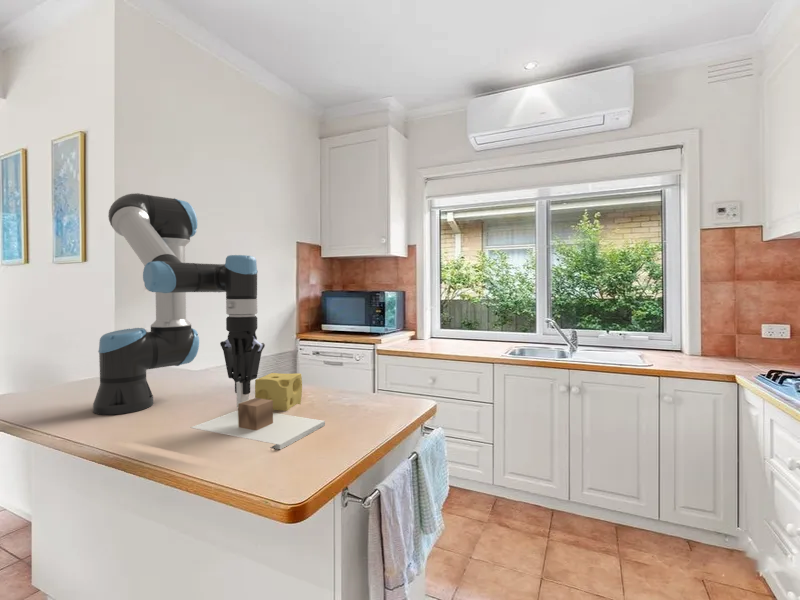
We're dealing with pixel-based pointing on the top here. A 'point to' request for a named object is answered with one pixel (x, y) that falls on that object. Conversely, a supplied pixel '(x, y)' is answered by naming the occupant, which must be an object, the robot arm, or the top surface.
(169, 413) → the top surface
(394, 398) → the top surface
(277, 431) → the cutting board
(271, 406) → the walnut block
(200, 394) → the top surface
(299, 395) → the cheese
